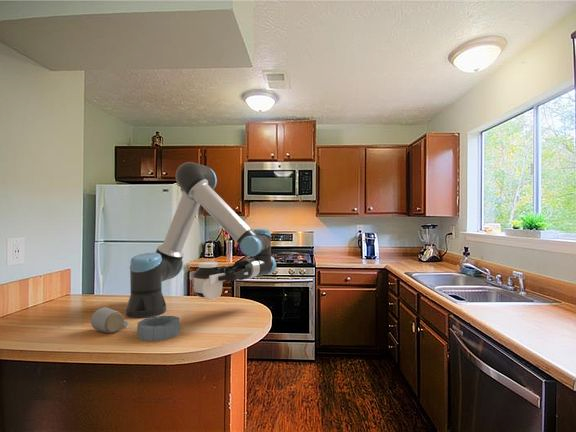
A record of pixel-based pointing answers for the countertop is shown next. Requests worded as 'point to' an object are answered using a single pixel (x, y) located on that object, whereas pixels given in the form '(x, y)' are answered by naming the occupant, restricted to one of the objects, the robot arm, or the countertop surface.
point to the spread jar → (207, 280)
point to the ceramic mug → (108, 320)
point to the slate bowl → (158, 328)
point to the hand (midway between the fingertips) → (199, 277)
